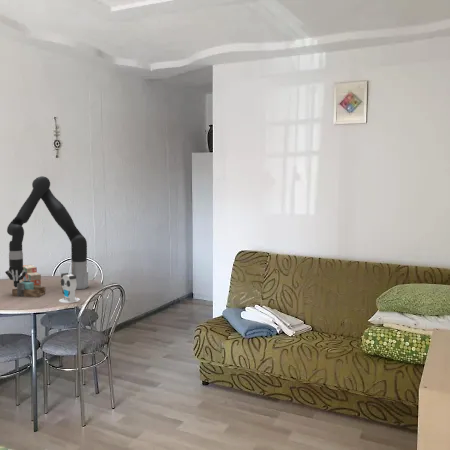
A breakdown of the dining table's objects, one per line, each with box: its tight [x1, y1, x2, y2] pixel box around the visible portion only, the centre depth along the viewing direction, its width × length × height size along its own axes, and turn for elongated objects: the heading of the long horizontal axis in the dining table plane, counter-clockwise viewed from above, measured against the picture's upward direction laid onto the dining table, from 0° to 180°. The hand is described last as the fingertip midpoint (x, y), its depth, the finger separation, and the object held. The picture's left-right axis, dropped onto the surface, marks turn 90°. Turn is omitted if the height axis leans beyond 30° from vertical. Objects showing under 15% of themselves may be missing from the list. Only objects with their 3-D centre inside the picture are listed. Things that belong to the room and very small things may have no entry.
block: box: [20, 281, 34, 290], centre depth 283 cm, size 7×5×6 cm
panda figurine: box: [58, 272, 81, 304], centre depth 272 cm, size 12×11×15 cm
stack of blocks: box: [21, 264, 42, 287], centre depth 304 cm, size 21×6×12 cm, turn 36°
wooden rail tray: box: [11, 281, 46, 298], centre depth 282 cm, size 16×8×8 cm, turn 85°
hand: (16, 286), depth 283 cm, fingers closed
